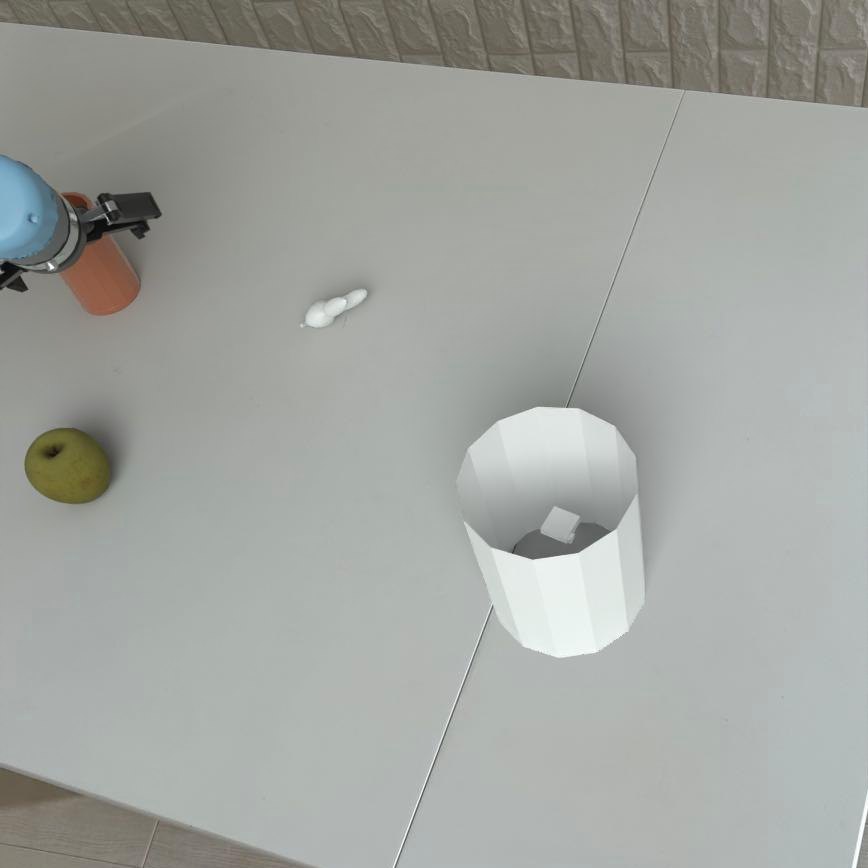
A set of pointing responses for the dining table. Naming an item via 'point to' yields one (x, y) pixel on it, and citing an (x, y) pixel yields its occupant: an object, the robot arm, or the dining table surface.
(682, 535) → the dining table surface
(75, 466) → the apple
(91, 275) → the cup
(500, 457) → the container
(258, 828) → the dining table surface
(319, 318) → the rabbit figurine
